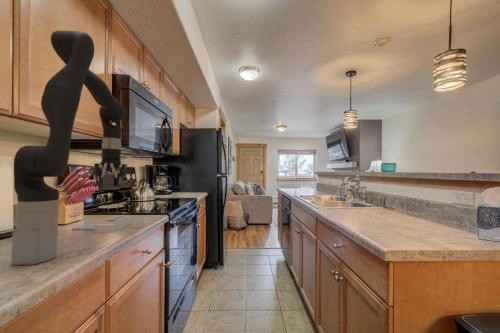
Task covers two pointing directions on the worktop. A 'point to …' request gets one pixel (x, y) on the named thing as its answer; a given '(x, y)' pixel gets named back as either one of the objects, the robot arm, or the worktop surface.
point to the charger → (108, 182)
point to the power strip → (112, 224)
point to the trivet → (85, 227)
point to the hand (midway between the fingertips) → (110, 186)
